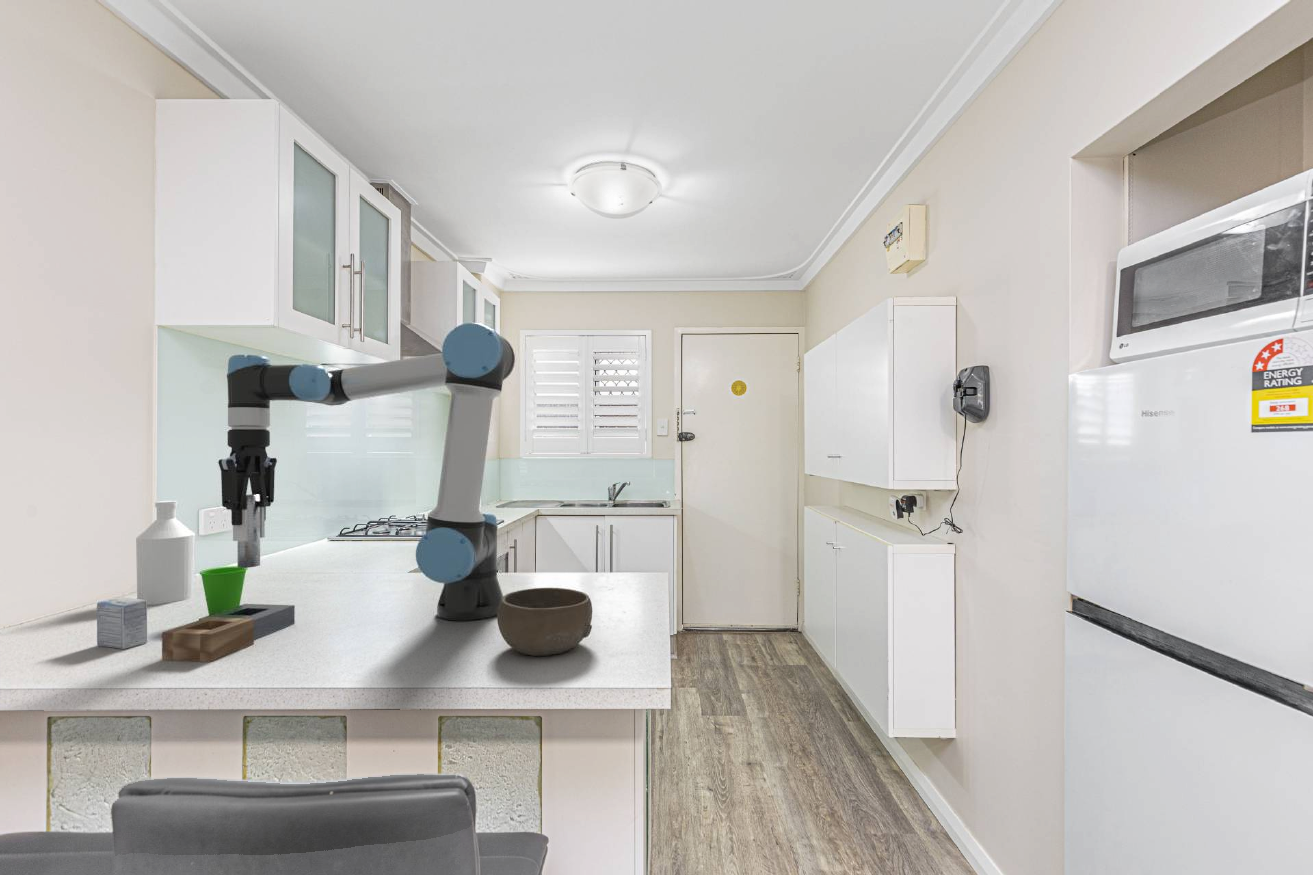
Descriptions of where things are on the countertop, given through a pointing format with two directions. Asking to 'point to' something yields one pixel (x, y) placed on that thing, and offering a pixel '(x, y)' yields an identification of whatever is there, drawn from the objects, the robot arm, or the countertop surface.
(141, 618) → the medicine box
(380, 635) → the countertop surface
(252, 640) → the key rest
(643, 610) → the countertop surface
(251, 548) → the key
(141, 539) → the bottle
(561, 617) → the bowl
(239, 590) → the cup
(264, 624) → the block
